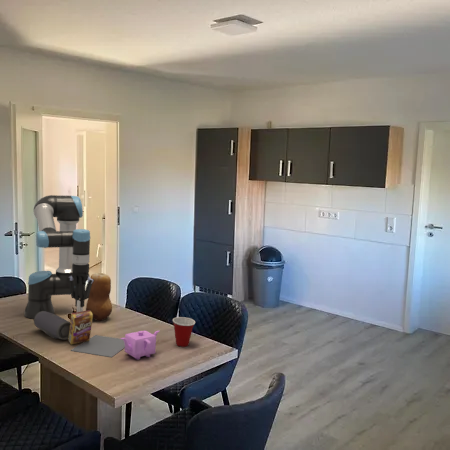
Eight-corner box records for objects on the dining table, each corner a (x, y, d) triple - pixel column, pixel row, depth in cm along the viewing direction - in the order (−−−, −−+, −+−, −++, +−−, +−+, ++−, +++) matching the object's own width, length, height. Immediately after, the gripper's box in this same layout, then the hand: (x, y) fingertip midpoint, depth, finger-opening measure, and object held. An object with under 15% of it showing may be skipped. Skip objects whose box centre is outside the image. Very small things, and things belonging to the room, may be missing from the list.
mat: (70, 350, 220) (70, 350, 220) (95, 335, 241) (95, 334, 241) (111, 357, 215) (111, 356, 215) (133, 341, 237) (133, 340, 237)
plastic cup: (188, 350, 229) (189, 325, 227) (167, 346, 232) (168, 321, 231) (197, 343, 239) (199, 318, 238) (177, 339, 243) (178, 315, 241)
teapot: (130, 347, 228) (131, 324, 227) (159, 350, 226) (160, 327, 225) (119, 360, 213) (120, 335, 212) (149, 363, 211) (150, 338, 210)
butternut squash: (115, 317, 272) (117, 272, 269) (105, 324, 259) (107, 277, 256) (91, 314, 274) (93, 270, 271) (80, 321, 261) (82, 274, 258)
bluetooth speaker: (75, 340, 234) (75, 319, 233) (56, 344, 227) (57, 323, 226) (50, 327, 249) (50, 308, 248) (32, 331, 242) (32, 311, 241)
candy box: (71, 345, 227) (73, 318, 221) (68, 339, 230) (70, 312, 224) (90, 341, 232) (93, 314, 226) (86, 335, 235) (89, 309, 229)
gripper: (63, 263, 225) (62, 314, 228) (89, 266, 222) (88, 317, 224) (72, 260, 232) (71, 309, 235) (97, 263, 229) (96, 313, 232)
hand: (79, 313), depth 230 cm, fingers closed
